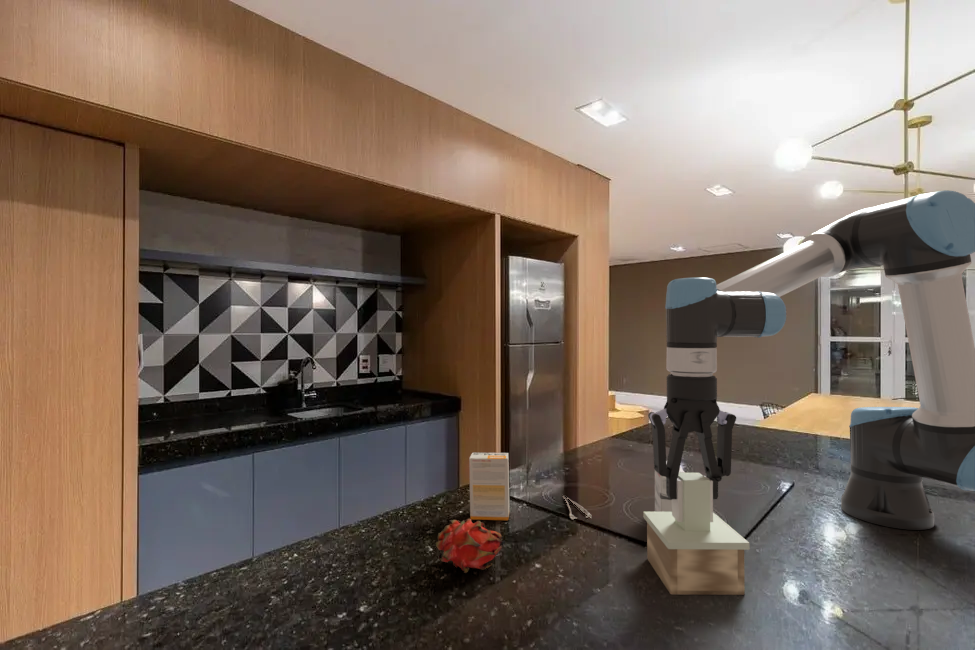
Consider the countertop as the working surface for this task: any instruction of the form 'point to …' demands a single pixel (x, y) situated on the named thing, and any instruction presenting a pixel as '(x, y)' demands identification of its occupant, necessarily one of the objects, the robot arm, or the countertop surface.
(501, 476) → the supplement box
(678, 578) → the storage box
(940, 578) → the countertop surface
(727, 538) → the lid
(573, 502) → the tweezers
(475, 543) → the dragon fruit
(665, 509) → the ink box
